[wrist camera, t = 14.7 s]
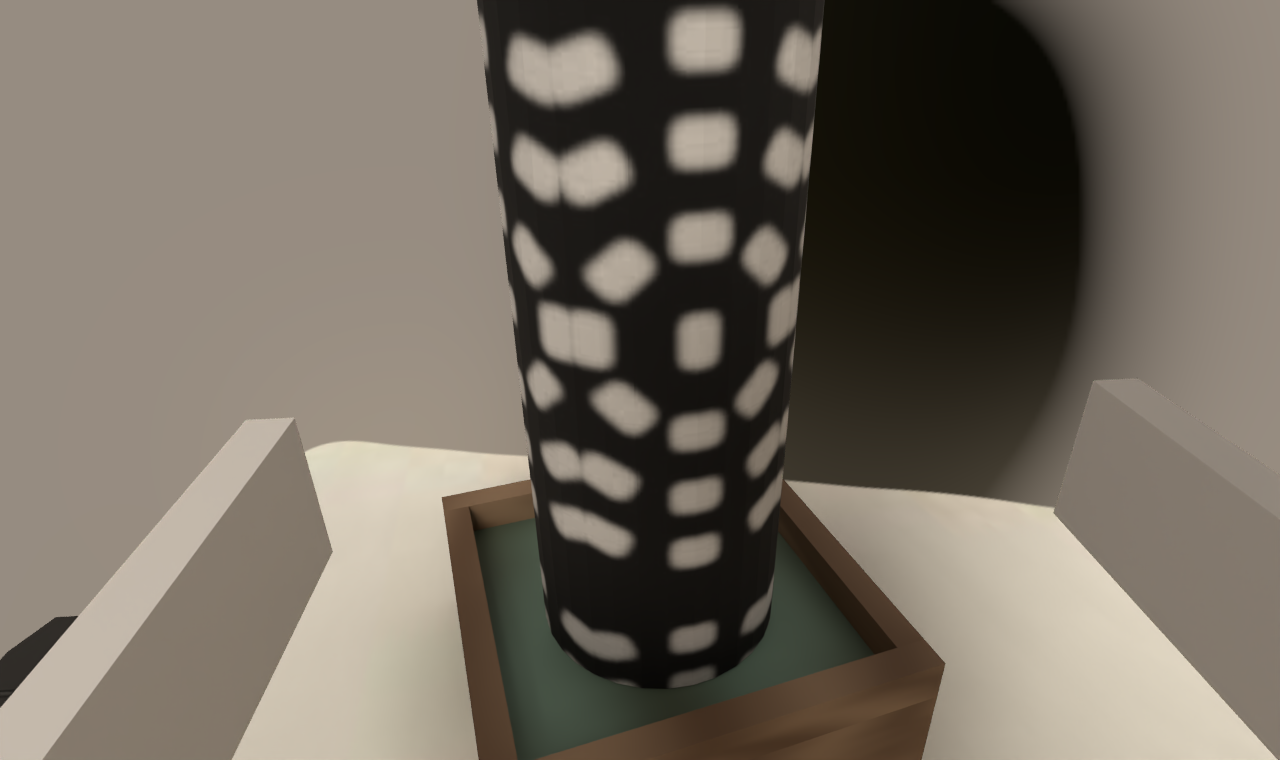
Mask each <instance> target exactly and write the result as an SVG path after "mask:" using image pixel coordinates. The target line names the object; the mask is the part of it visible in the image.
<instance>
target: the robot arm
mask: <svg viewBox="0 0 1280 760" xmlns="http://www.w3.org/2000/svg"><path fill="white" fill-rule="evenodd" d="M1053 513H1054V514H1055V515H1056V516H1057V517H1058V518H1059V520H1060V521H1061V522H1062V523H1063V524H1064V525H1065V526H1066V527H1067V528H1068V529H1069V531H1070V532H1071V533H1072V534H1073V535H1074V536H1075V537H1076V538H1077V539H1078V540H1079V542H1080V543H1081V544H1082V545H1083V546H1084V547H1085V548H1086V549H1087V550H1088V551H1089V553H1090V554H1091V555H1092V556H1093V557H1094V558H1095V559H1096V560H1097V561H1098V562H1099V564H1100V565H1101V566H1102V567H1103V568H1104V569H1105V570H1106V571H1107V572H1108V573H1109V575H1110V576H1111V577H1112V578H1113V579H1114V580H1115V581H1116V582H1117V583H1118V584H1119V586H1120V587H1121V588H1122V589H1123V590H1124V591H1125V592H1126V593H1127V594H1128V595H1129V597H1130V598H1131V599H1132V600H1133V601H1134V602H1135V603H1136V604H1137V605H1138V606H1139V608H1140V609H1141V610H1142V611H1143V612H1144V613H1145V614H1146V615H1147V616H1148V617H1149V619H1150V620H1151V621H1152V622H1153V623H1154V624H1155V625H1156V626H1157V627H1158V628H1159V630H1160V631H1161V632H1162V633H1163V634H1164V635H1165V636H1166V637H1167V638H1168V639H1169V641H1170V642H1171V643H1172V644H1173V645H1174V646H1175V647H1176V648H1177V649H1178V650H1179V652H1180V653H1181V654H1182V655H1183V656H1184V657H1185V658H1186V659H1187V660H1188V661H1189V663H1190V664H1191V665H1192V666H1193V667H1194V668H1195V669H1196V670H1197V671H1198V672H1199V674H1200V675H1201V676H1202V677H1203V678H1204V679H1205V680H1206V681H1207V682H1208V683H1209V685H1210V686H1211V687H1212V688H1213V689H1214V690H1215V691H1216V692H1217V693H1218V694H1219V696H1220V697H1221V698H1222V699H1223V700H1224V701H1225V702H1226V703H1227V704H1228V705H1229V707H1230V708H1231V709H1232V710H1233V711H1234V712H1235V713H1236V714H1237V715H1238V716H1239V718H1240V719H1241V720H1242V721H1243V722H1244V723H1245V724H1246V725H1247V726H1248V727H1249V729H1250V730H1251V731H1252V732H1253V733H1254V734H1255V735H1256V736H1257V737H1258V738H1259V740H1260V741H1261V742H1262V743H1263V744H1264V745H1265V746H1266V747H1267V748H1268V749H1269V751H1270V752H1271V753H1272V754H1273V755H1274V756H1275V757H1276V758H1277V759H1278V760H1280V475H1279V474H1278V473H1276V472H1275V471H1273V470H1272V469H1271V468H1269V467H1268V466H1266V465H1265V464H1263V463H1262V462H1260V461H1259V460H1257V459H1256V458H1254V457H1253V456H1251V455H1250V454H1248V453H1247V452H1245V451H1244V450H1242V449H1241V448H1240V447H1238V446H1237V445H1235V444H1234V443H1232V442H1231V441H1229V440H1228V439H1226V438H1225V437H1223V436H1222V435H1220V434H1219V433H1217V432H1216V431H1215V430H1213V429H1212V428H1210V427H1208V426H1207V425H1206V424H1204V423H1203V422H1201V421H1200V420H1198V419H1197V418H1196V417H1194V416H1193V415H1191V414H1190V413H1188V412H1187V411H1185V410H1184V409H1182V408H1181V407H1179V406H1178V405H1176V404H1175V403H1173V402H1172V401H1171V400H1169V399H1168V398H1166V397H1165V396H1163V395H1161V394H1160V393H1159V392H1157V391H1156V390H1154V389H1153V388H1151V387H1150V386H1148V385H1147V384H1145V383H1144V382H1142V381H1141V380H1139V379H1138V378H1134V379H1114V380H1113V379H1112V380H1093V384H1092V387H1091V390H1090V393H1089V397H1088V400H1087V403H1086V406H1085V410H1084V413H1083V416H1082V420H1081V423H1080V426H1079V430H1078V433H1077V436H1076V440H1075V443H1074V446H1073V449H1072V453H1071V457H1070V459H1069V463H1068V466H1067V469H1066V473H1065V476H1064V479H1063V483H1062V486H1061V489H1060V493H1059V496H1058V499H1057V503H1056V506H1055V509H1054V512H1053ZM332 552H333V551H332V548H331V544H330V541H329V537H328V534H327V530H326V527H325V523H324V520H323V516H322V513H321V509H320V506H319V502H318V498H317V495H316V491H315V488H314V484H313V481H312V477H311V474H310V470H309V467H308V463H307V460H306V456H305V453H304V449H303V446H302V442H301V438H300V435H299V431H298V428H297V425H296V421H295V418H279V419H259V420H246V421H245V422H244V423H243V424H242V425H241V426H240V428H239V429H238V430H237V431H236V432H235V434H234V435H233V436H232V437H231V438H230V439H229V440H228V442H227V443H226V444H225V445H224V446H223V448H222V449H221V450H220V451H219V452H218V453H217V455H216V456H215V457H214V458H213V459H212V460H211V462H210V463H209V464H208V465H207V466H206V468H205V469H204V470H203V471H202V472H201V473H200V475H199V476H198V477H197V478H196V479H195V480H194V482H193V483H192V484H191V485H190V486H189V487H188V489H187V490H186V491H185V492H184V493H183V494H182V496H181V497H180V498H179V499H178V500H177V501H176V503H175V504H174V505H173V506H172V507H171V508H170V510H169V511H168V512H167V513H166V514H165V516H164V517H163V518H162V519H161V520H160V521H159V523H158V524H157V525H156V526H155V527H154V528H153V530H152V531H151V532H150V533H149V534H148V535H147V537H146V538H145V539H144V540H143V541H142V543H141V544H140V545H139V546H138V547H137V548H136V549H135V551H134V552H133V553H132V554H131V556H130V557H129V558H128V559H127V560H126V561H125V562H124V564H123V565H122V566H121V567H120V568H119V569H118V571H117V572H116V573H115V574H114V575H113V576H112V578H111V579H110V580H109V581H108V582H107V584H106V585H105V586H104V587H103V588H102V590H101V591H100V592H99V593H98V594H97V595H96V596H95V598H94V599H93V600H92V601H91V602H90V603H89V605H88V606H87V607H86V608H85V609H84V610H83V612H82V613H81V614H80V615H79V616H71V617H56V618H54V619H53V620H51V621H50V622H49V623H47V624H46V625H44V626H43V627H42V628H40V629H39V630H38V631H36V632H35V633H33V634H32V635H31V636H29V637H28V638H26V639H25V640H24V641H22V642H21V643H19V644H18V645H17V646H15V647H14V648H12V649H11V650H10V651H8V652H7V653H6V654H5V656H4V657H2V659H1V660H0V760H232V758H233V756H234V754H235V751H236V749H237V747H238V745H239V743H240V741H241V739H242V737H243V735H244V733H245V731H246V729H247V727H248V725H249V723H250V721H251V719H252V717H253V714H254V712H255V710H256V708H257V706H258V704H259V702H260V700H261V698H262V696H263V694H264V692H265V690H266V688H267V686H268V684H269V682H270V679H271V677H272V675H273V673H274V671H275V669H276V667H277V665H278V663H279V661H280V659H281V657H282V655H283V653H284V651H285V649H286V647H287V644H288V642H289V640H290V638H291V636H292V634H293V632H294V630H295V628H296V626H297V624H298V622H299V620H300V618H301V616H302V614H303V612H304V609H305V607H306V605H307V603H308V601H309V599H310V597H311V595H312V593H313V591H314V589H315V587H316V585H317V583H318V581H319V579H320V577H321V574H322V572H323V570H324V568H325V566H326V564H327V562H328V560H329V558H330V556H331V554H332Z"/></svg>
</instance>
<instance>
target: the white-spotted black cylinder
mask: <svg viewBox="0 0 1280 760" xmlns="http://www.w3.org/2000/svg"><path fill="white" fill-rule="evenodd" d="M477 4H478V12H479V22H480V31H481V40H482V49H483V57H484V66H485V76H486V84H487V93H488V102H489V111H490V120H491V128H492V138H493V147H494V156H495V164H496V173H497V182H498V192H499V201H500V210H501V219H502V227H503V236H504V246H505V255H506V262H507V263H506V264H507V272H508V281H509V290H510V299H511V308H512V317H513V325H514V335H515V344H516V353H517V362H518V371H519V380H520V389H521V398H522V407H523V416H524V425H525V434H526V442H527V451H528V460H529V469H530V478H531V487H532V496H533V505H534V514H535V523H536V532H537V541H538V550H539V559H540V568H541V577H542V586H543V595H544V604H545V613H546V619H547V622H548V625H549V628H550V631H551V634H552V635H553V637H554V638H555V640H556V641H557V643H558V644H559V646H560V647H561V649H562V650H563V651H564V652H565V653H566V654H567V655H568V656H569V657H570V658H571V659H572V660H573V661H575V662H576V663H577V664H578V665H580V666H582V667H583V668H585V669H586V670H588V671H590V672H591V673H593V674H595V675H597V676H599V677H602V678H604V679H607V680H610V681H612V682H615V683H618V684H623V685H628V686H633V687H638V688H653V689H670V688H677V687H684V686H691V685H695V684H698V683H701V682H704V681H707V680H710V679H713V678H716V677H718V676H720V675H722V674H723V673H725V672H727V671H729V670H731V669H732V668H734V667H736V666H737V665H738V664H739V663H741V662H742V661H743V660H744V659H745V658H746V657H748V656H749V655H750V654H751V653H752V652H753V651H754V649H755V648H756V646H757V645H758V644H759V642H760V641H761V640H762V638H763V637H764V634H765V632H766V629H767V627H768V624H769V621H770V614H771V605H772V594H773V583H774V571H775V560H776V548H777V537H778V525H779V514H780V503H781V491H782V480H783V468H784V457H785V444H786V434H787V422H788V411H789V400H790V388H791V377H792V365H793V354H794V343H795V342H794V341H795V331H796V319H797V308H798V297H799V285H800V274H801V263H802V251H803V240H804V228H805V217H806V206H807V194H808V181H809V171H810V160H811V148H812V136H813V125H814V114H815V103H816V91H817V80H818V79H817V78H818V68H819V57H820V44H821V34H822V23H823V10H824V0H477Z"/></svg>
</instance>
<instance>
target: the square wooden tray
mask: <svg viewBox="0 0 1280 760" xmlns="http://www.w3.org/2000/svg"><path fill="white" fill-rule="evenodd" d="M442 502H443V509H444V516H445V523H446V530H447V537H448V544H449V552H450V559H451V566H452V573H453V580H454V587H455V594H456V601H457V608H458V615H459V622H460V629H461V637H462V644H463V651H464V658H465V665H466V672H467V679H468V686H469V693H470V700H471V707H472V715H473V722H474V729H475V736H476V743H477V750H478V757H479V760H921V759H922V755H923V751H924V747H925V743H926V739H927V735H928V731H929V727H930V723H931V719H932V715H933V711H934V707H935V703H936V699H937V695H938V691H939V687H940V683H941V679H942V675H943V671H944V667H945V663H944V661H943V660H942V659H941V658H940V657H939V656H938V655H937V653H936V652H935V651H934V650H933V649H932V648H931V647H930V645H929V644H928V643H927V642H926V641H925V640H924V639H923V637H922V636H921V635H920V634H919V633H918V632H917V631H916V630H915V628H914V627H913V626H912V625H911V624H910V623H909V622H908V620H907V619H906V618H905V617H904V616H903V615H902V614H901V612H900V611H899V610H898V609H897V608H896V607H895V606H894V605H893V603H892V602H891V601H890V600H889V599H888V598H887V597H886V595H885V594H884V593H883V592H882V591H881V590H880V589H879V587H878V586H877V585H876V584H875V583H874V582H873V581H872V580H871V578H870V577H869V576H868V575H867V574H866V573H865V572H864V570H863V569H862V568H861V567H860V566H859V565H858V564H857V562H856V561H855V560H854V559H853V558H852V557H851V556H850V554H849V553H848V552H847V551H846V550H845V549H844V548H843V547H842V545H841V544H840V543H839V542H838V541H837V540H836V539H835V537H834V536H833V535H832V534H831V533H830V532H829V531H828V529H827V528H826V527H825V526H824V525H823V524H822V523H821V522H820V520H819V519H818V518H817V517H816V516H815V515H814V514H813V512H812V511H811V510H810V509H809V508H808V507H807V506H806V504H805V503H804V502H803V501H802V500H801V499H800V498H799V497H798V495H797V494H796V493H795V492H794V491H793V490H792V489H791V487H790V486H789V485H788V484H787V483H786V482H785V481H784V479H783V480H782V491H781V503H780V514H779V525H778V537H777V548H776V560H775V571H774V583H773V594H772V605H771V614H770V621H769V624H768V627H767V629H766V632H765V634H764V637H763V638H762V640H761V641H760V642H759V644H758V645H757V646H756V648H755V649H754V651H753V652H752V653H751V654H750V655H749V656H748V657H746V658H745V659H744V660H743V661H742V662H741V663H739V664H738V665H737V666H736V667H734V668H732V669H731V670H729V671H727V672H725V673H723V674H722V675H720V676H718V677H716V678H713V679H710V680H707V681H704V682H701V683H698V684H695V685H691V686H684V687H677V688H670V689H653V688H638V687H633V686H628V685H623V684H618V683H615V682H612V681H610V680H607V679H604V678H602V677H599V676H597V675H595V674H593V673H591V672H590V671H588V670H586V669H585V668H583V667H582V666H580V665H578V664H577V663H576V662H575V661H573V660H572V659H571V658H570V657H569V656H568V655H567V654H566V653H565V652H564V651H563V650H562V649H561V647H560V646H559V644H558V643H557V641H556V640H555V638H554V637H553V635H552V634H551V631H550V628H549V625H548V622H547V619H546V613H545V604H544V595H543V586H542V577H541V568H540V559H539V550H538V541H537V532H536V523H535V514H534V505H533V496H532V487H531V480H526V481H521V482H516V483H511V484H506V485H501V486H496V487H491V488H486V489H481V490H476V491H471V492H466V493H461V494H456V495H451V496H446V497H442Z"/></svg>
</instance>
